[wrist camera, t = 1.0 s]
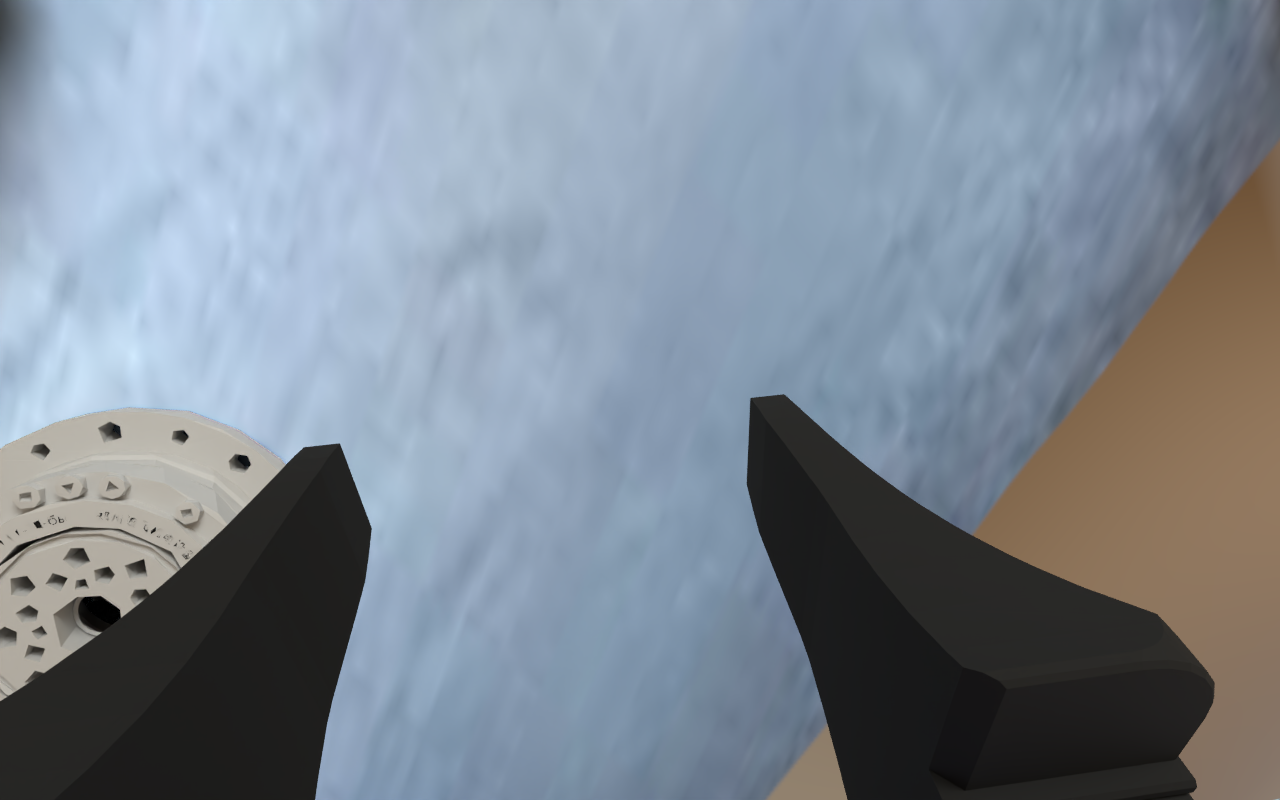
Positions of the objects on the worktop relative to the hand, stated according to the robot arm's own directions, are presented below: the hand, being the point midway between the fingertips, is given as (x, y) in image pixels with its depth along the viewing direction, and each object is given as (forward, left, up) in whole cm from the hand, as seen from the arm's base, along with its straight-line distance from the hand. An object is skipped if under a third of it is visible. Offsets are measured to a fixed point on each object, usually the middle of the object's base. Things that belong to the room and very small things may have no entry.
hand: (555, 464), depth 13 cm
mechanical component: (-3, +11, -12) cm, 17 cm away
